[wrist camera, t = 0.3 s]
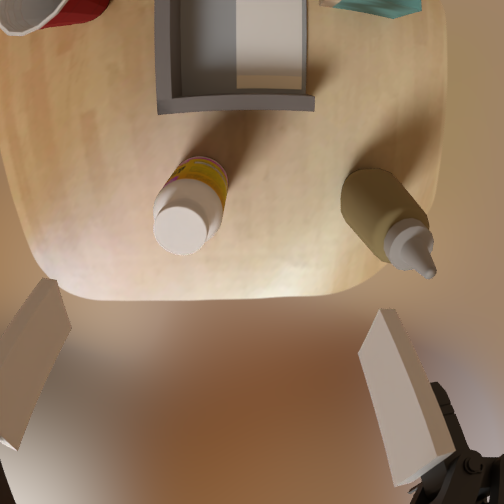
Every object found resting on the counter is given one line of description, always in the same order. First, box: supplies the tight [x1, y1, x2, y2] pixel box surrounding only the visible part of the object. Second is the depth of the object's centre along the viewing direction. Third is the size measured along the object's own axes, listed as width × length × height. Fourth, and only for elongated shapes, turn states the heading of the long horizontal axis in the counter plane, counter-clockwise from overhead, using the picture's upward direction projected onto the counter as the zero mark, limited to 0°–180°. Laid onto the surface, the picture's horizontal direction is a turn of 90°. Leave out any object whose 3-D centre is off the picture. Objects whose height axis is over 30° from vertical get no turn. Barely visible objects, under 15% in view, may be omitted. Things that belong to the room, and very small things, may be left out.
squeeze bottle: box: [341, 169, 437, 279], centre depth 30 cm, size 8×8×18 cm
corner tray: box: [155, 0, 315, 115], centre depth 26 cm, size 16×15×5 cm
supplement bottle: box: [153, 156, 228, 255], centre depth 31 cm, size 7×7×13 cm
